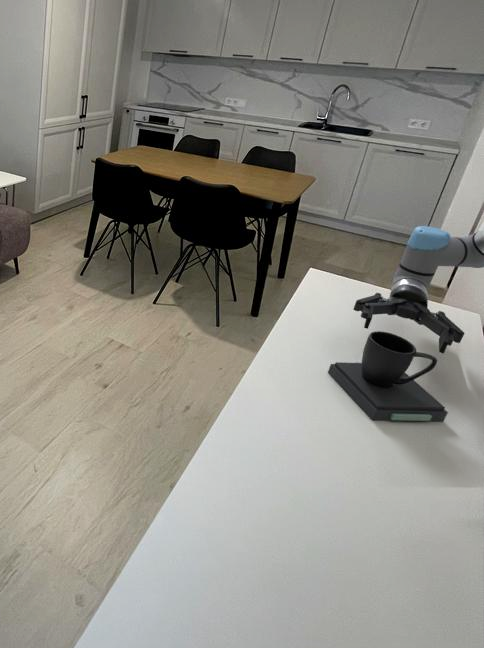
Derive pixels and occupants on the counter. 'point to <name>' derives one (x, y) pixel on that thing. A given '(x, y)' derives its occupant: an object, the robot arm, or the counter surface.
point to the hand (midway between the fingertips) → (404, 334)
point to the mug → (390, 360)
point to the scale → (387, 396)
